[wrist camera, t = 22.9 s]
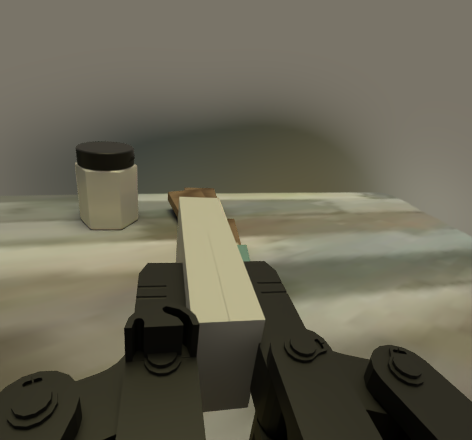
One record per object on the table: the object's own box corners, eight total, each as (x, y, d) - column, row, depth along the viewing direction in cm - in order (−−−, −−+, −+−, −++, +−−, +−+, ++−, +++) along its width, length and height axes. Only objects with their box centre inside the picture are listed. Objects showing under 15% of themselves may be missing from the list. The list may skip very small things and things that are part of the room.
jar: (146, 224, 54) (145, 151, 49) (95, 236, 49) (88, 156, 44) (122, 206, 60) (119, 139, 55) (74, 214, 54) (66, 142, 50)
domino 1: (187, 227, 50) (168, 191, 58) (187, 236, 51) (167, 200, 59) (223, 221, 53) (200, 188, 61) (222, 231, 54) (199, 197, 62)
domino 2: (188, 209, 57) (184, 187, 67) (187, 219, 58) (184, 195, 68) (221, 210, 59) (213, 187, 68) (221, 219, 59) (213, 196, 69)
